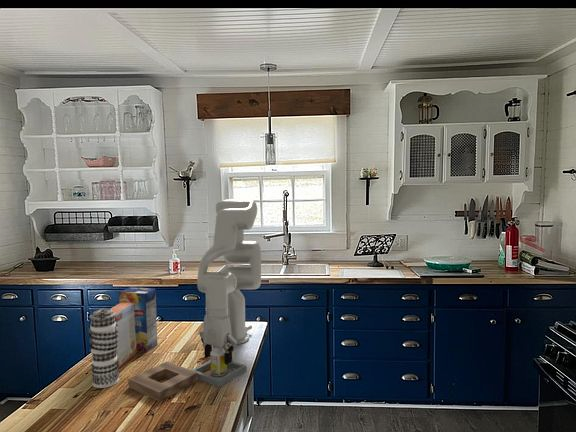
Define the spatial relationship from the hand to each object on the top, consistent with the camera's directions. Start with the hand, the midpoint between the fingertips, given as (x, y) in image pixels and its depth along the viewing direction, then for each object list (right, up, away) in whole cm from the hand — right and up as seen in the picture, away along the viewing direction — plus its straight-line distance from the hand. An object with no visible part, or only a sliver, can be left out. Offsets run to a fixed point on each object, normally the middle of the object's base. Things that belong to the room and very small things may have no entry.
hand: (218, 359), depth 148 cm
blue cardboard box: (-37, -4, +25) cm, 45 cm away
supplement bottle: (0, -5, +1) cm, 6 cm away
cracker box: (-39, -5, +13) cm, 42 cm away
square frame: (0, -5, +1) cm, 5 cm away
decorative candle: (-38, -6, -4) cm, 39 cm away
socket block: (-17, -6, -7) cm, 19 cm away
